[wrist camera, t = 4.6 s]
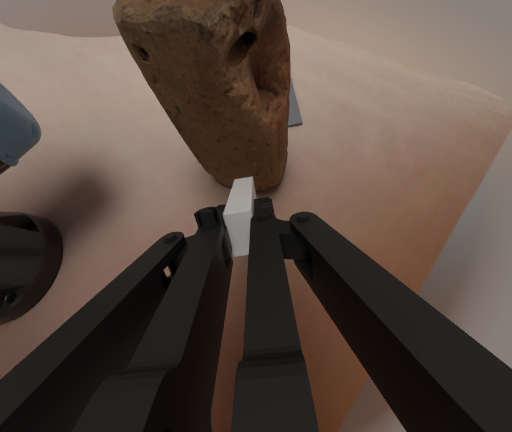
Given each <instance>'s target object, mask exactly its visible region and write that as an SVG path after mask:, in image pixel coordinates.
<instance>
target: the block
mask: <svg viewBox="0 0 512 432" xmlns="http://www.w3.org/2000/svg"><path fill="white" fill-rule="evenodd" d="M113 18H114V20H115V22H116V25H117V27H118V29H119V31H120V34H121V36H122V38H123V40H124V42H125V44H126V46H127V48H128V50H129V51H130V53H131V55H132V57H133V59H134V60H135V62H136V63H137V65H138V66H139V68H140V70H141V72H142V74H143V76H144V78H145V80H146V81H147V83H148V85H149V86H150V88H151V89H152V90H153V92H154V94H155V95H156V97H157V99H158V101H159V102H160V104H161V105H162V107H163V108H164V110H165V112H166V113H167V115H168V117H169V118H170V120H171V121H172V123H173V124H174V126H175V127H176V129H177V130H178V132H179V134H180V135H181V137H182V138H183V140H184V141H185V143H186V144H187V146H188V147H189V149H190V150H191V151H192V153H193V154H194V156H195V157H196V158H197V160H198V161H199V163H200V164H201V165H202V167H203V168H204V169H205V170H206V171H207V172H208V173H209V174H211V175H212V176H213V177H215V178H216V179H217V181H218V182H219V183H221V184H223V185H225V186H228V187H231V188H232V186H233V183H234V180H235V179H240V178H246V177H252V176H253V181H254V187H255V191H261V190H267V189H269V188H271V187H273V186H277V185H278V184H279V183H280V182H281V180H282V178H283V175H284V172H285V167H286V163H287V147H288V120H289V107H290V99H289V93H290V43H289V38H288V34H287V28H286V17H285V15H284V10H283V6H282V3H281V1H280V0H117V1H116V3H115V4H114V6H113Z"/></svg>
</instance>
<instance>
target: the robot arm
mask: <svg viewBox="0 0 512 432" xmlns="http://www.w3.org/2000/svg"><path fill="white" fill-rule="evenodd" d="M40 137H41V129H40V126H39V124H38V122H37V121H36V119H35V118H34V117H33V115H32V114H31V113H30V112H29V111H28V110H27V109H26V107H25V106H24V105H23V104H22V103H21V102H20V101H19V100H18V99H17V98H16V97H15V96H14V95H13V94H12V93H11V92H9V91H8V90H7V89H6V88H5V87H4V86H3V85H2V84H1V83H0V174H2V173H3V172H4V171H6V170H7V169H8V168H10V167H11V166H16V165H17V164H18V162H19V161H18V160H19V159H20V158H21V157H22V156H23V155H24V154H25V153H26V152H28V151H29V150H30V149H31V148H32V147H33V146H34V145H36V144H37V143H38V142H39V140H40ZM194 216H195V219H196V222H197V225H198V230H197V232H196V234H195V235H193V236H189V237H186V238H185V237H184V234H183V233H182V232H171V233H168V234H167V235H165V236H163V237H162V238H160V239H159V240H158V241H157V242H156V243H154V244H153V245H152V246H151V247H150V248H149V249H148V250H147V251H145V252H144V253H143V254H142V255H141V256H140V257H139V258H137V259H136V260H135V261H134V262H133V263H132V264H131V265H130V266H128V267H127V268H126V269H125V270H124V271H123V272H122V273H121V274H119V275H118V276H117V277H116V278H115V279H114V280H113V281H111V282H110V283H109V284H108V285H107V286H106V287H105V288H104V289H102V290H101V291H100V292H99V293H98V294H97V295H96V296H94V297H93V298H92V299H91V300H90V301H89V302H88V303H87V304H85V305H84V306H83V307H82V308H81V309H80V310H79V311H78V312H76V313H75V314H74V315H73V316H72V317H71V318H70V319H68V320H67V321H66V322H65V323H64V324H63V325H62V326H61V327H59V328H58V329H57V330H56V331H55V332H54V333H53V334H52V335H50V336H49V337H48V338H47V339H46V340H45V341H44V342H42V343H41V344H40V345H39V346H38V347H37V348H36V349H35V350H33V351H32V352H31V353H30V354H29V355H28V356H27V357H25V358H24V359H23V360H22V361H21V362H20V363H19V364H18V365H16V366H15V367H14V368H13V369H12V370H11V371H10V372H9V373H7V374H6V375H5V376H4V377H3V378H2V379H1V380H0V432H212V428H211V407H212V400H213V394H214V387H215V380H216V373H217V367H218V360H219V353H220V347H221V340H222V333H223V327H224V320H225V313H226V306H227V300H228V293H229V286H230V280H231V273H232V266H233V259H232V256H231V253H232V251H233V255H234V257H236V256H243V255H249V258H248V277H247V296H246V315H245V333H244V351H243V358H242V360H241V361H240V362H239V363H238V366H237V371H236V379H235V390H234V403H233V416H232V429H231V432H319V429H318V424H317V419H316V414H315V409H314V404H313V399H312V394H311V389H310V384H309V379H308V374H307V369H306V364H305V360H304V356H303V354H302V350H301V345H300V340H299V335H298V330H297V325H296V320H295V315H294V310H293V304H292V299H291V294H290V289H289V284H288V279H287V274H286V268H285V263H284V259H293V260H294V263H295V265H296V266H297V268H298V269H299V271H300V272H301V274H302V275H303V277H304V278H305V280H306V281H307V283H308V284H309V286H310V287H311V289H312V290H313V292H314V293H315V295H316V296H317V298H318V299H319V301H320V302H321V304H322V305H323V307H324V308H325V310H326V311H327V313H328V314H329V316H330V317H331V319H332V320H333V322H334V323H335V325H336V326H337V328H338V329H339V331H340V332H341V334H342V335H343V337H344V338H345V340H346V341H347V343H348V344H349V346H350V347H351V349H352V350H353V352H354V353H355V355H356V356H357V358H358V359H359V361H360V362H361V364H362V365H363V367H364V368H365V370H366V371H367V373H368V374H369V376H370V377H371V379H372V380H373V382H374V383H375V385H376V386H377V388H378V389H379V391H380V392H381V394H382V396H383V397H384V399H385V400H386V401H387V403H388V405H389V406H390V408H391V409H392V410H393V412H394V413H395V415H396V416H397V418H398V420H399V421H400V423H401V424H402V426H403V427H404V429H405V430H406V431H407V432H512V369H511V368H510V367H509V366H507V365H506V364H505V363H504V362H502V361H501V360H500V359H498V358H497V357H496V356H494V355H493V354H492V353H491V352H489V351H488V350H487V349H486V348H484V347H483V346H482V345H480V344H479V343H478V342H477V341H475V340H474V339H473V338H472V337H470V336H469V335H468V334H467V333H465V332H464V331H463V330H461V329H460V328H459V327H458V326H457V325H455V324H454V323H453V322H451V321H450V320H449V319H448V318H446V317H445V316H444V315H443V314H441V313H440V312H439V311H437V310H436V309H435V308H434V307H432V306H431V305H430V304H429V303H427V302H426V301H424V300H423V299H422V298H421V297H420V296H418V295H417V294H416V293H415V292H413V291H412V290H411V289H409V288H408V287H407V286H406V285H404V284H403V283H402V282H401V281H399V280H398V279H397V278H395V277H394V276H393V275H392V274H390V273H389V272H388V271H387V270H385V269H384V268H383V267H381V266H380V265H379V264H378V263H376V262H375V261H374V260H373V259H371V258H370V257H369V256H367V255H366V254H365V253H364V252H362V251H361V250H360V249H359V248H357V247H356V246H355V245H353V244H352V243H351V242H350V241H348V240H347V239H346V238H345V237H343V236H342V235H341V234H340V233H338V232H337V231H336V230H334V229H333V228H332V227H331V226H329V225H328V224H327V223H326V222H324V221H323V220H322V219H320V218H319V217H318V216H317V215H315V214H313V213H310V212H300V213H296V214H293V215H292V216H291V217H290V221H283V220H279V219H277V218H276V217H275V214H274V209H273V204H272V199H270V198H269V197H265V198H259V199H257V198H256V192H255V187H254V181H253V176H252V177H246V178H240V179H235V180H234V183H233V186H232V189H231V192H230V195H229V198H228V201H227V204H225V205H218V206H217V207H207V208H203V209H201V210H199V211H197V212H196V213H195V214H194ZM61 256H62V241H61V236H60V234H59V231H58V230H57V228H56V227H55V225H54V224H53V223H52V222H50V221H49V220H47V219H45V218H42V217H38V216H34V215H30V214H26V213H19V212H0V323H4V322H7V321H10V320H13V319H15V318H17V317H19V316H20V315H22V314H24V313H25V312H26V311H28V310H29V309H30V308H32V307H33V306H34V305H35V304H36V303H37V302H38V301H39V300H40V299H41V298H42V296H43V295H44V294H45V293H46V291H47V290H48V288H49V287H50V285H51V284H52V282H53V280H54V278H55V276H56V274H57V271H58V268H59V265H60V262H61ZM167 266H168V268H169V270H170V272H171V274H170V276H169V277H167V276H166V275H165V273H164V271H163V270H164V269H165V268H166V267H167Z"/></svg>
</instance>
